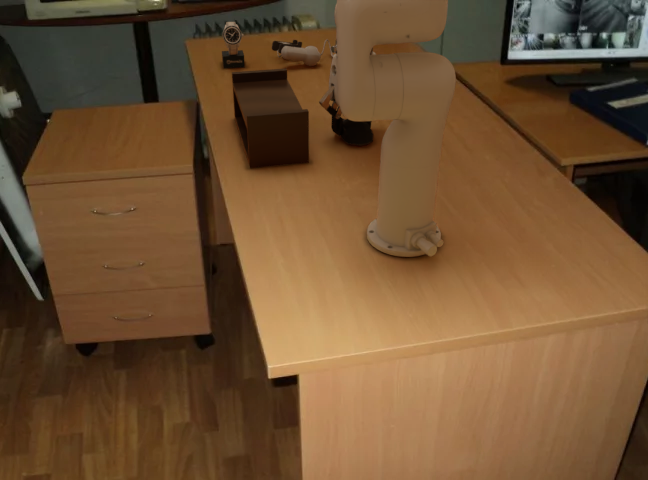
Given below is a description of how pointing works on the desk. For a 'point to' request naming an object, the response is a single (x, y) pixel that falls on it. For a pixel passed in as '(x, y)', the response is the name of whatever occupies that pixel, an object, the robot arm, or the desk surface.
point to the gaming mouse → (357, 132)
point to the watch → (232, 46)
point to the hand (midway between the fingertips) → (351, 129)
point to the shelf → (270, 118)
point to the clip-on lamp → (298, 52)
